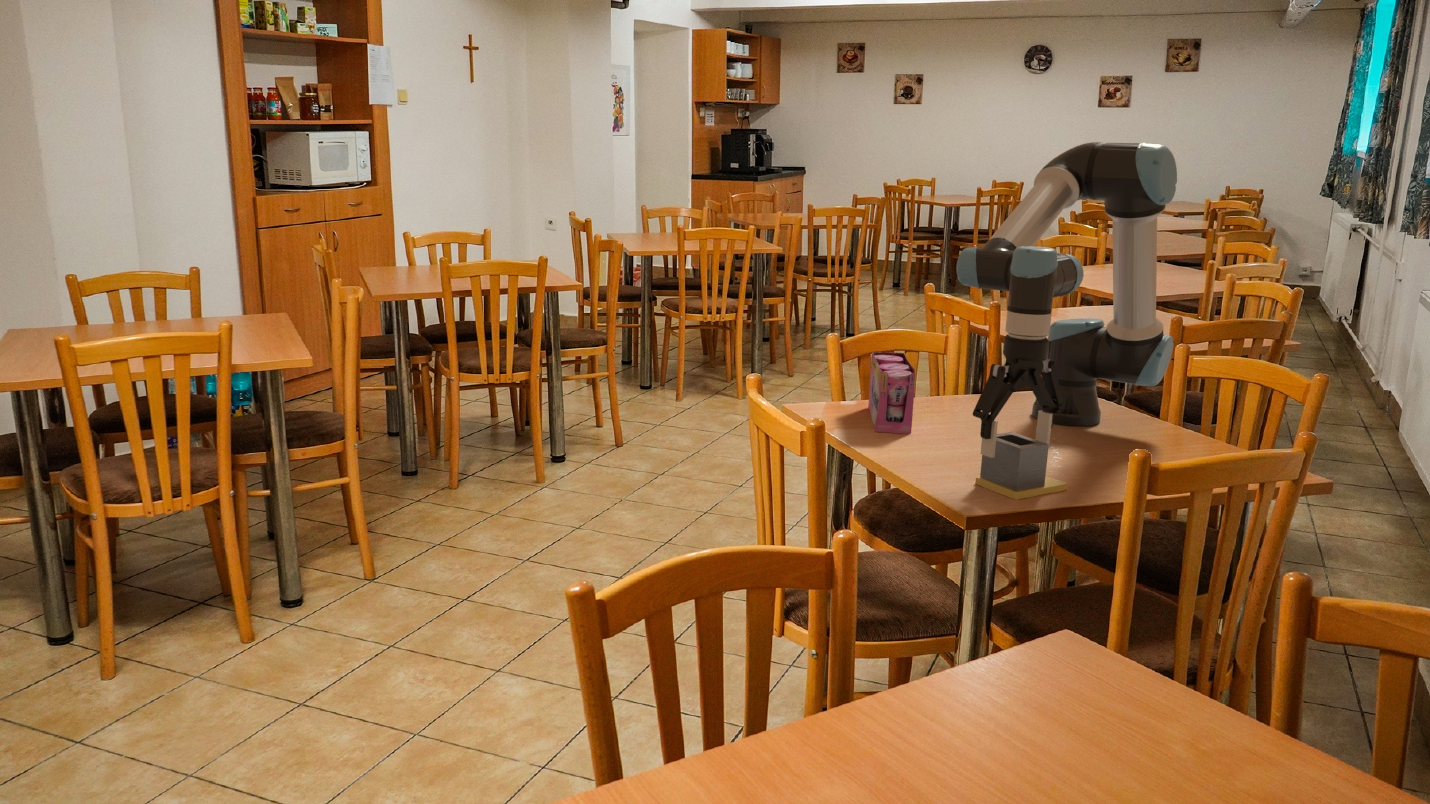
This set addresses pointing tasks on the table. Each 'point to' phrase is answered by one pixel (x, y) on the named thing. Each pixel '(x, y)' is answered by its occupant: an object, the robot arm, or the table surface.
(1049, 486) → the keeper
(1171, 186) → the robot arm
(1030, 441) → the grey open box
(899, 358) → the gum box
